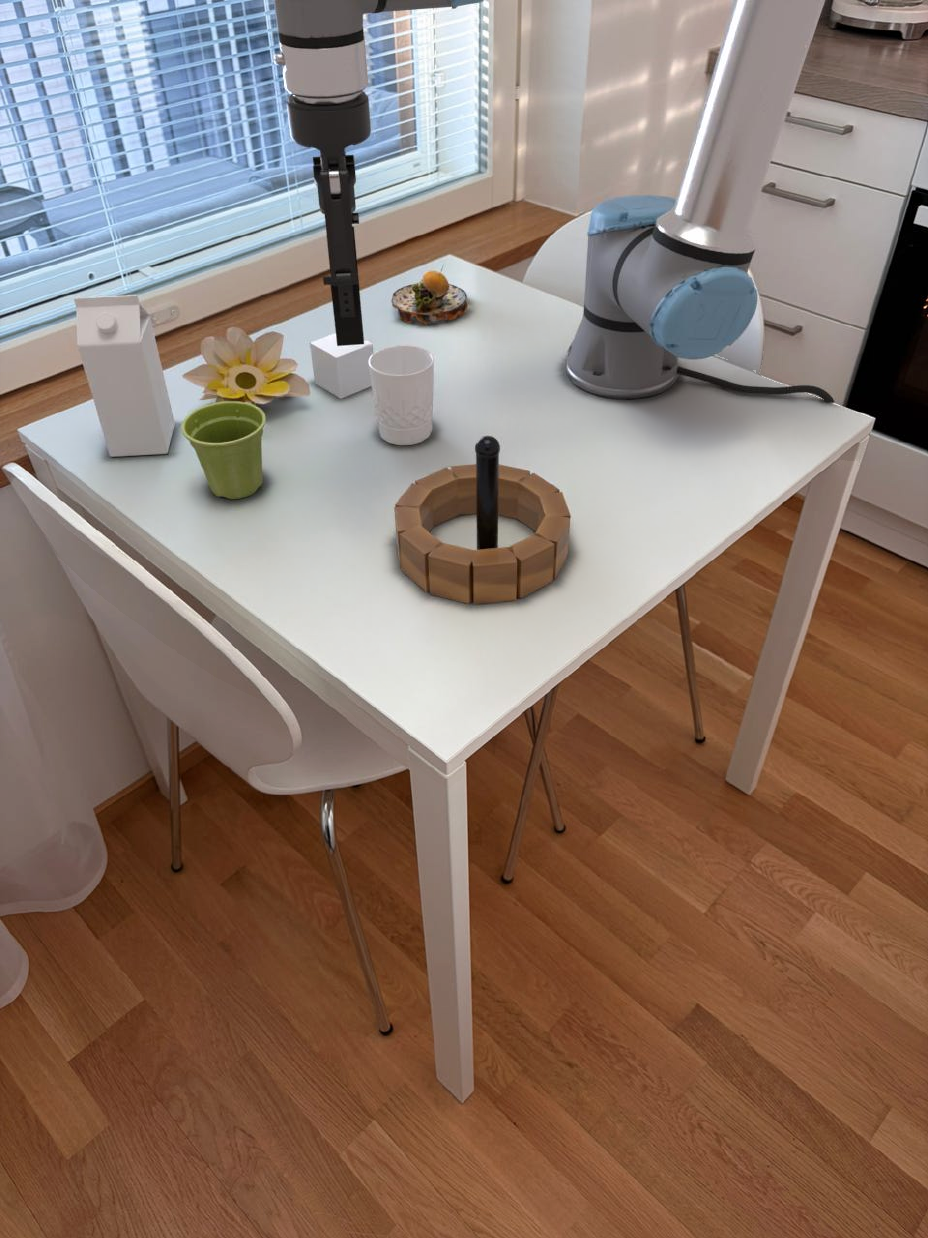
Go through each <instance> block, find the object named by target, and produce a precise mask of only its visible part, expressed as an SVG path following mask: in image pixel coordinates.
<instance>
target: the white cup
mask: <svg viewBox="0 0 928 1238" xmlns="http://www.w3.org/2000/svg"><path fill="white" fill-rule="evenodd" d="M369 369H370V377H371V385H372V386H371V393H372V397H373V404H374V405H373V406H374V410H375V416H376V419H377V427H378V432H379V433H378V434H379V435H380V438H381V439H382V440H383V441H384V442H387V443H388V444H393V445H396V446H413V445H416V444H420V443H423V442H424V441H426V440H427V439H428V438H430V436H431V434H432V432H433V413H434V395H435V394H434V393H435V392H434V391H435V389H434V387H435V383H434V381H435V358H434V355H433V354H432V353H431V352H430V351H429V350H428V349H425V348H423V347H420V346H415V345H411V344H406V345H405V344H400V345H399V344H398V345H391V346H385V347H384V348H380V349H378V350H377V351H375V352H374V354H372V355H371V357H370V358H369Z"/></svg>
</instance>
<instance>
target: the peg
mask: <svg viewBox="0 0 928 1238" xmlns="http://www.w3.org/2000/svg"><path fill="white" fill-rule="evenodd" d="M500 452H501V445H500V442H499V440H497V438H495V437H494V436H492V435H484V436H481V437H479V438H478V439H477V440H476V442H475V445H474V453H475V464H476V514H475V515H476V520H475V521H476V550H481V549H492V548H499V515H498V488H499V465H500Z"/></svg>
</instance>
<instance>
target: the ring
mask: <svg viewBox="0 0 928 1238" xmlns="http://www.w3.org/2000/svg"><path fill="white" fill-rule="evenodd" d="M393 510H394V512H393V513H394V523H395V526H394V527H395V535H396V536H395V539H396V548H397V557H398V562H399V569H400V570H401V572H402V573H403V574H404V575H405V576H407V577H408V579H410V580H411V581H412V582H413V583H415V584H416V585H417V586H418V587H419V588H420V589H422V590H423V591H424V592H425V593H427V592H429V594H430V595H432V596H435V597H436V596H437V597H440V598H444V599H447V600H452V601H455V602H460V603H464V604H467V605H470V604H471V602H473V605H480V604H481V605H483V604H493V603H503V602H513V601H517V597H518V599H523V598H525V597H527V596H529V595H530V594H532V593H535V592H536V591H538V590H541V589H543V588H544V587H546V586H547V585H549V584H551V583H553V580H556V579H557V577H558V575H559V573H560V572H561V569H562V567H563V566H564V564H565V562H566V560H567V558H568V556H569V546H570V545H569V544H570V531H571V517H572V516H571V513H570V509H569V508H568V504H567V502H566V498H565V496H564V494H563V492H562V491H561V489H559V488H558V487H556V486H555V485H553V484H552V483H550V482H549V481H547V480H546V479H545V478H543V477H541V476H539V474H537V473H535V472H532V473H531V470H527V469H523V468H518V467H512V466H508V465H504V464H499V488H498V516H502V517H507V518H511V519H516V520H518V521H520V522H521V523H522V524H524V525H526V527H528V528H529V529H531V530H532V531H534V532H535V533H533V534H532V535H530V536H528V537H525V538H524V539H521V540H519V541H518V542H516V543H513V544H511V545H510V546H503V547H498V548H492V549H481V550H477V549H470V548H468V547H463V546H458V545H455V544H450V543H446V542H442V541H441V540H440V539H439V538H437V537H436V536H435V535H433V534H432V533H431V531H432V530H433V528H434V527H436V526H438V525H440V524H443V523H444V522H447V521H449V520H451V519H454V518H455V517H456V518H457V517H458V516H463V515H464V516H466V515H476V463H474V464H463V465H450V468H448V467H443V468H441V469H440V470H437V471H435V472H433V473H430V474H428V475H425V476H423V477H421V478H419V479H417V480H414V482H412V483H411V484H410V485H409V486H408V487H407V488H406V490H405V491H404V493H403V494H402V495H401V497H399V499H398V500H397V501H396V502H395V504H394V507H393Z"/></svg>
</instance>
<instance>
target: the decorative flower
mask: <svg viewBox="0 0 928 1238" xmlns="http://www.w3.org/2000/svg"><path fill="white" fill-rule="evenodd" d="M284 338H285V337H284V334H282V333H280V332H277V331H272V330H271V331H267V332H264V333H263V334H261V335H259V336H258V337H257V338H255V340H253V339H252V338H251V336H250V335H248V334H247V333H246V332H245V331H244V330H243V329H241V328H240V327H237V326H234V325H233V326H231V327H228V328H227V329H226V338H225V337H224V336H223V337H222V336H217V337H215V336H213V335H211V336H206V337H204V338H203V339H202V340H201V342H200V353H201V357H202V358H203V360H204V361H205V363H204V364H203V363H202V364H201V365H199V366H196V367H194V368H193V369H191V370H189V371H187V372H185V373H184V374H182V375H181V377H182V379H184V380H186V381H188V382H189V383H191V384H194V385H196V386H198V387H200V388H201V387H202V388H204V389H203V391H202V394H203V395H202V397H200V399H199V401H206V400H212V399H215V402H214V403H219V402H234V401H237V402H245V403H249V404H252V405H254V406H257V405H260V406H262V405H265V404H267V403H271V402H272V401H273V400H274V398H277V399H282V398H286V397H309V396H311V393H312V392H311V388H310V384H309V383H308V381H306V379H304V377H301V376H300V375H299V374H296V373H293V372H295V371H296V370H297V368H298V362H297V361H296V360H295V359H293V358H287V357H285V358H281V356H282V350H283V346H284V345H283V344H284V340H285V339H284Z"/></svg>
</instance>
